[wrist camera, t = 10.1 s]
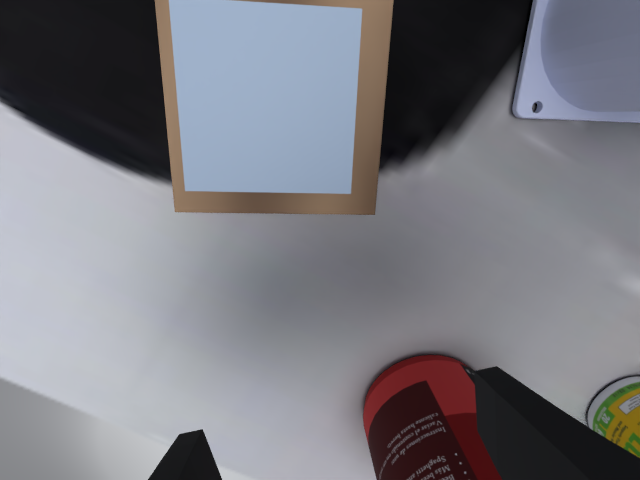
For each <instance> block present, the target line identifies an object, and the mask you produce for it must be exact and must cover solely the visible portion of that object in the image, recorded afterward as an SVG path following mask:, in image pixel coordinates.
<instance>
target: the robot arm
mask: <svg viewBox="0 0 640 480" xmlns="http://www.w3.org/2000/svg"><path fill="white" fill-rule="evenodd" d="M535 102H536V104H537V109H536V111H535V112H533V111H532V106H533V104H534V103H535ZM513 113H514V115H515V116H516V117H518V118H531V119H557V120H583V121H608V122H634V123H640V0H533V3H532V8H531V13H530V19H529V24H528V29H527V34H526V39H525V45H524V50H523V55H522V60H521V65H520V71H519V76H518V81H517V86H516V91H515V97H514V102H513ZM474 379H475V398H476V416H477V431H478V433H479V435H480V437H481V439H482V441H483V443H484V445H485V448H486V450H487V452H488V454H489V456H490V458H491V460H492V462H493V464H494V466H495V468H496V470H497V471H498V473H499V475H500V476H501V478H502V480H640V458H639V457H637V456H636V455H634V454H632V453H630V452H629V451H627V450H625V449H624V448H622V447H620V446H618V445H617V444H615V443H613V442H612V441H610V440H608V439H607V438H605V437H603V436H602V435H600V434H598V433H597V432H595V431H594V430H592V429H590V428H589V427H587V426H586V425H584V424H582V423H581V422H579V421H578V420H576V419H575V418H573V417H572V416H570V415H568V414H567V413H565V412H564V411H562V410H561V409H559V408H558V407H556V406H555V405H553V404H552V403H550V402H549V401H547V400H546V399H544V398H543V397H541V396H540V395H538V394H537V393H535V392H534V391H532V390H531V389H529V388H528V387H526V386H525V385H523V384H522V383H521V382H519V381H518V380H516V379H515V378H513V377H512V376H510V375H509V374H507V373H506V372H504V371H503V370H501V369H500V368H498V367H497V366H496V367H492V368H487V369H482V370H478V371H474ZM148 480H222V478H221V476H220V473H219V470H218V468H217V465H216V463H215V460H214V458H213V455H212V452H211V450H210V447H209V445H208V442H207V439H206V437H205V434H204V432H203V429H202V430H197V431H192V432H188V433H183V434H179V436H178V437H177V438H176V440H175V441H174V443H173V444H172V445H171V447H170V448H169V450H168V451H167V453H166V454H165V456H164V457H163V458H162V460H161V461H160V463H159V464H158V466H157V467H156V469H155V470H154V472H153V473H152V475H151V476H150V478H149V479H148Z"/></svg>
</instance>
